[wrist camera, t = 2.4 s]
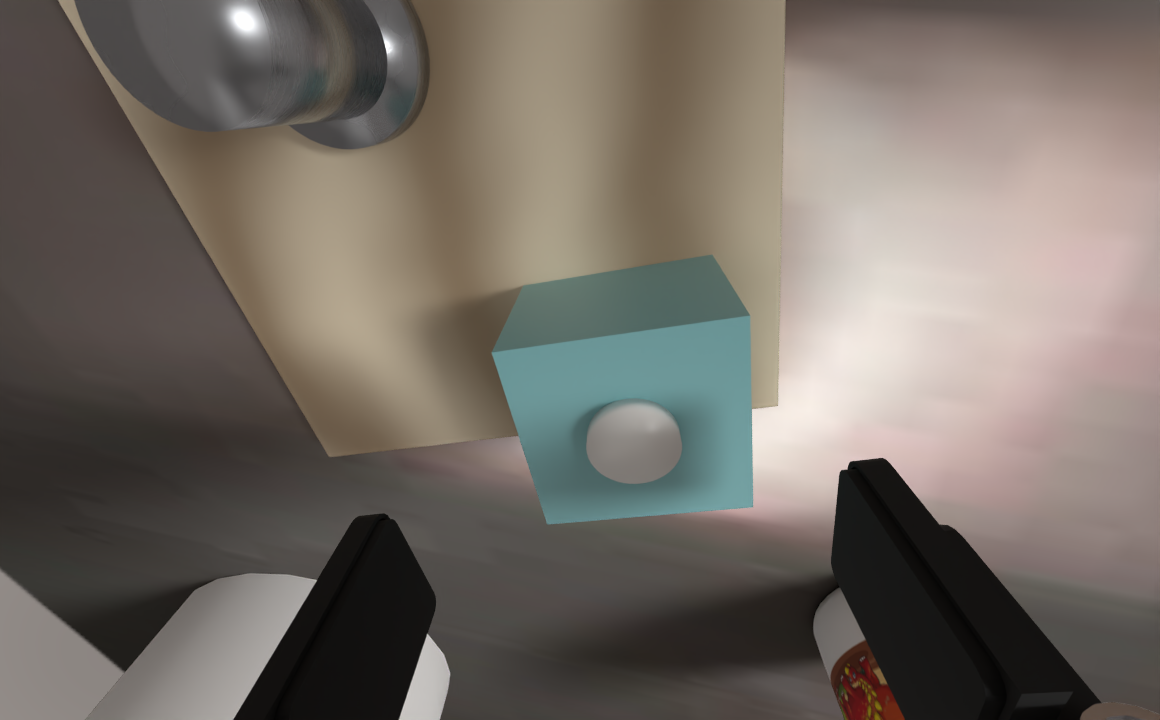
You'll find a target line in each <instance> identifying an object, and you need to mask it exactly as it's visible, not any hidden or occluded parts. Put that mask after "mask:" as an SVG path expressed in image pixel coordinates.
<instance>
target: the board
mask: <svg viewBox="0 0 1160 720" xmlns="http://www.w3.org/2000/svg"><path fill="white" fill-rule="evenodd" d="M58 1H59V3H60V5H61V7H62V8H63V10H64V12H65V13H66V15H67V17H68V18H69V20H70V22H71V23H72V25H73V27H74V28H75V30H76V32H77V33H78V35H79V37H80V39H81V40H82V42H83V44H84V45H85V47H86V49H87V50H88V52H89V54H90V55H91V57H92V59H93V60H94V62H95V64H96V65H97V67H98V69H99V70H100V72H101V74H102V76H103V77H104V79H105V81H106V82H107V84H108V86H109V87H110V89H111V91H112V92H113V94H114V96H115V97H116V99H117V101H118V102H119V104H120V106H121V108H122V109H123V111H124V113H125V114H126V116H127V118H128V119H129V121H130V123H131V124H132V126H133V128H134V129H135V131H136V133H137V134H138V136H139V138H140V140H141V141H142V143H143V145H144V146H145V148H146V150H147V151H148V153H149V155H150V156H151V158H152V160H153V161H154V163H155V165H156V166H157V168H158V170H159V171H160V173H161V175H162V177H163V178H164V180H165V182H166V183H167V185H168V187H169V188H170V190H171V192H172V193H173V195H174V197H175V198H176V200H177V202H178V203H179V205H180V207H181V209H182V210H183V212H184V214H185V215H186V217H187V219H188V220H189V222H190V224H191V225H192V227H193V229H194V230H195V232H196V234H197V235H198V237H199V239H200V241H201V242H202V244H203V246H204V247H205V249H206V251H207V252H208V254H209V256H210V257H211V259H212V261H213V262H214V264H215V266H216V267H217V269H218V271H219V273H220V274H221V276H222V278H223V279H224V281H225V283H226V284H227V286H228V288H229V289H230V291H231V293H232V294H233V296H234V298H235V299H236V301H237V303H238V304H239V306H240V308H241V310H242V311H243V313H244V315H245V316H246V318H247V320H248V321H249V323H250V325H251V326H252V328H253V330H254V331H255V333H256V335H257V336H258V338H259V340H260V342H261V343H262V345H263V347H264V348H265V350H266V352H267V353H268V355H269V357H270V358H271V360H272V362H273V363H274V365H275V367H276V368H277V370H278V372H279V374H280V375H281V377H282V379H283V380H284V382H285V384H286V385H287V387H288V389H289V390H290V392H291V394H292V395H293V397H294V399H295V400H296V402H297V404H298V405H299V407H300V409H301V411H302V412H303V414H304V416H305V417H306V419H307V421H308V422H309V424H310V426H311V427H312V429H313V431H314V432H315V434H316V436H317V437H318V439H319V441H320V443H321V444H322V446H323V448H324V449H325V451H326V453H327V454H328V456H329V457H336V456H344V455H353V454H362V453H371V452H379V451H388V450H397V449H406V448H414V447H423V446H432V445H441V444H449V443H458V442H467V441H476V440H484V439H493V438H502V437H511V436H519V435H518V432H517V429H516V426H515V423H514V420H513V417H512V414H511V411H510V408H509V405H508V402H507V398H506V395H505V392H504V389H503V386H502V383H501V380H500V377H499V374H498V371H497V368H496V365H495V362H494V358H493V355H492V351H493V349H494V346H495V344H496V342H497V340H498V338H499V336H500V334H501V332H502V330H503V327H504V325H505V323H506V321H507V319H508V317H509V315H510V313H511V311H512V308H513V306H514V304H515V302H516V300H517V298H518V296H519V294H520V292H521V289H522V287H523V286H524V285H530V284H536V283H542V282H548V281H554V280H560V279H566V278H572V277H578V276H585V275H591V274H597V273H603V272H609V271H615V270H621V269H627V268H633V267H639V266H645V265H652V264H658V263H664V262H670V261H676V260H682V259H688V258H694V257H700V256H706V255H712V254H713V256H714V258H715V259H716V261H717V263H718V264H719V266H720V267H721V269H722V271H723V272H724V274H725V275H726V277H727V279H728V280H729V282H730V284H731V285H732V287H733V288H734V290H735V292H736V293H737V295H738V296H739V298H740V300H741V301H742V303H743V305H744V306H745V308H746V309H747V311H748V313H749V314H750V331H751V399H752V409H756V408H764V407H773V406H778V374H779V321H780V269H781V216H782V163H783V110H784V57H785V4H786V0H410V1H411V3H412V4H413V6H414V8H415V10H416V12H417V14H418V17H419V19H420V21H421V24H422V27H423V30H424V33H425V37H426V41H427V45H428V51H429V58H430V79H429V87H428V92H427V97H426V99H425V102H424V105H423V108H422V110H421V112H420V114H419V115H418V117H417V119H416V120H415V121H414V123H413V124H412V125H411V126H410V127H409V128H408V129H407V130H406V131H405V132H404V133H403V134H401V135H400V136H399V137H397V138H395V139H393V140H391V141H389V142H386V143H383V144H379V145H375V146H370V147H365V148H359V149H338V148H332V147H329V146H325V145H322V144H319V143H317V142H315V141H312V140H310V139H308V138H307V137H305V136H303V135H301V134H300V133H298V132H297V131H295V130H294V129H293V128H291V127H290V126H289V125H283V126H272V127H261V128H250V129H239V130H229V131H218V132H204V131H197V130H192V129H188V128H185V127H182V126H179V125H177V124H174V123H172V122H170V121H168V120H166V119H164V118H162V117H161V116H159V115H157V114H156V113H154V112H153V111H151V110H150V109H148V108H147V107H145V106H144V105H143V104H142V103H140V102H139V101H138V100H137V99H136V98H134V97H133V96H132V95H131V94H130V93H129V92H128V91H127V90H126V89H125V88H124V87H123V86H122V85H121V84H120V83H119V81H118V80H117V79H116V78H115V77H114V76H113V75H112V73H111V72H110V71H109V69H108V68H107V67H106V65H105V64H104V63H103V61H102V60H101V58H100V56H99V55H98V53H97V52H96V50H95V49H94V47H93V45H92V43H91V41H90V39H89V37H88V36H87V34H86V31H85V29H84V27H83V24H82V22H81V20H80V17H79V14H78V11H77V8H76V5H75V1H74V0H58Z"/></svg>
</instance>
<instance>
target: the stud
mask: <svg viewBox="0 0 1160 720" xmlns="http://www.w3.org/2000/svg"><path fill="white" fill-rule="evenodd" d="M74 1H75V5H76V8H77V11H78V14H79V17H80V20H81V22H82V24H83V27H84V29H85V31H86V34H87V36H88V37H89V39H90V41H91V43H92V45H93V47H94V49H95V50H96V52H97V53H98V55H99V56H100V58H101V60H102V61H103V63H104V64H105V65H106V67H107V68H108V69H109V71H110V72H111V73H112V75H113V76H114V77H115V78H116V79H117V80H118V81H119V83H120V84H121V85H122V86H123V87H124V88H125V89H126V90H127V91H128V92H129V93H130V94H131V95H132V96H133V97H134V98H136V99H137V100H138V101H139V102H140V103H142V104H143V105H144V106H145V107H147V108H148V109H150V110H151V111H153V112H154V113H156V114H157V115H159V116H161V117H162V118H164V119H166V120H168V121H170V122H172V123H174V124H177V125H179V126H182V127H185V128H188V129H192V130H197V131H204V132H218V131H229V130H239V129H250V128H261V127H272V126H283V125H289V126H290V127H291V128H293V129H294V130H295V131H297V132H298V133H300V134H301V135H303V136H305V137H307V138H308V139H310V140H312V141H315V142H317V143H319V144H322V145H325V146H329V147H332V148H338V149H359V148H365V147H370V146H375V145H379V144H383V143H386V142H389V141H391V140H393V139H395V138H397V137H399V136H400V135H401V134H403V133H404V132H405V131H406V130H407V129H408V128H409V127H410V126H411V125H412V124H413V123H414V121H415V120H416V119H417V117H418V115H419V114H420V112H421V110H422V108H423V105H424V102H425V99H426V97H427V92H428V87H429V79H430V58H429V51H428V45H427V41H426V37H425V33H424V30H423V27H422V24H421V21H420V19H419V17H418V14H417V12H416V10H415V8H414V6H413V4H412V3H411V1H410V0H74Z"/></svg>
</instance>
